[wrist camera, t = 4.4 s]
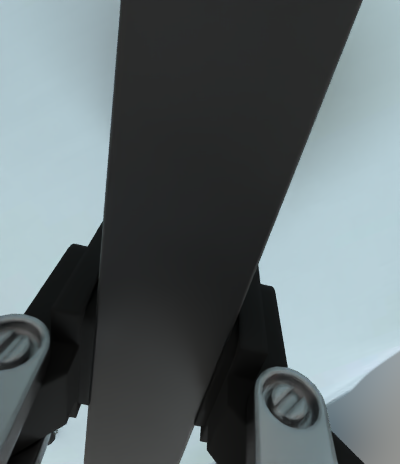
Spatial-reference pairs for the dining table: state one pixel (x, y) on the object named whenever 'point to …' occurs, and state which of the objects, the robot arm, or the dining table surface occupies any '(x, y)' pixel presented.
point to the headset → (194, 198)
